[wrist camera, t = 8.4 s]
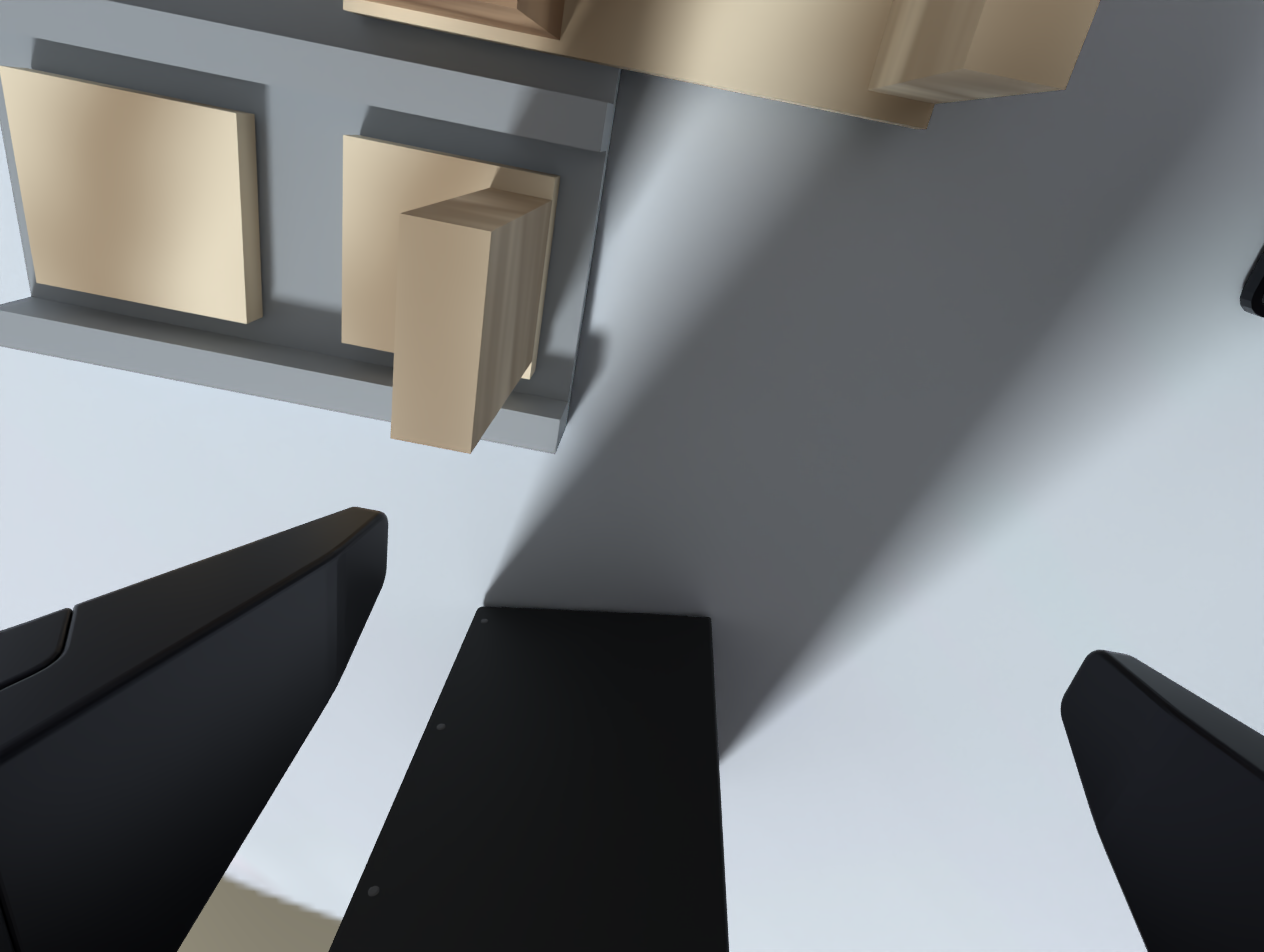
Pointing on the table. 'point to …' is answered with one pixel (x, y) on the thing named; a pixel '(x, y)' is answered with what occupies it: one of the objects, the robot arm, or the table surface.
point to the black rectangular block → (557, 796)
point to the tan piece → (815, 47)
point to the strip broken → (230, 241)
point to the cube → (495, 13)
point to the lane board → (318, 183)
